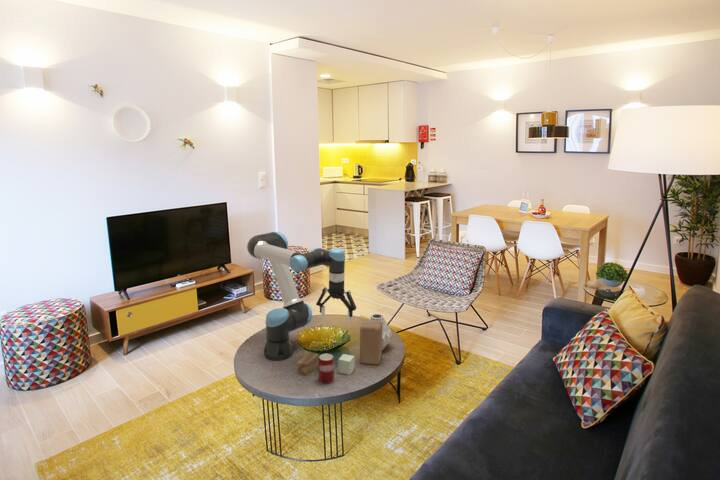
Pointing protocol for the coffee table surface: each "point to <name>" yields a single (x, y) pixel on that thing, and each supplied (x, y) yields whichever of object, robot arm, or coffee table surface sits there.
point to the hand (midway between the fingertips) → (335, 320)
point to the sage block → (346, 364)
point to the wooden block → (370, 342)
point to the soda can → (326, 368)
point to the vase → (383, 329)
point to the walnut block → (307, 363)
